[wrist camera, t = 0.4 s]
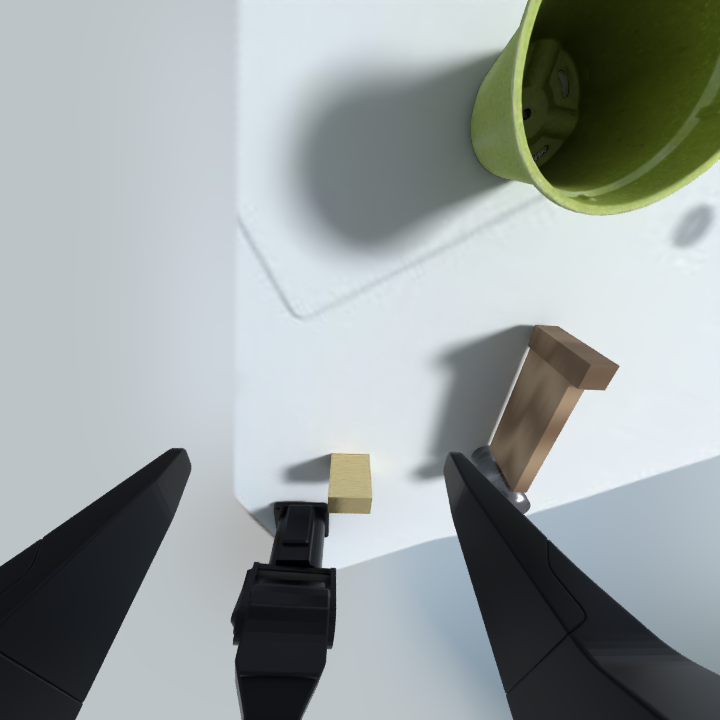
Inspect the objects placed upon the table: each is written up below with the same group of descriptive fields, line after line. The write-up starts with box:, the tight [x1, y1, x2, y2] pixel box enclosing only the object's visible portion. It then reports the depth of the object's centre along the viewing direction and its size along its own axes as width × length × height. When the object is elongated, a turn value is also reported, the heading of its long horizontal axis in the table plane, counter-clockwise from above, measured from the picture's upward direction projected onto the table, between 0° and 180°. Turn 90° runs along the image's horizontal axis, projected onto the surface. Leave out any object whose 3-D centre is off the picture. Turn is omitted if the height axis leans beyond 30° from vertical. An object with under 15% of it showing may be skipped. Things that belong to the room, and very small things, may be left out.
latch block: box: [328, 454, 372, 514], centre depth 29 cm, size 2×4×5 cm, turn 86°
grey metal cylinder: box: [472, 446, 530, 514], centre depth 28 cm, size 3×3×6 cm
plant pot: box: [470, 0, 720, 215], centre depth 13 cm, size 9×9×9 cm
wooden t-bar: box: [489, 325, 619, 493], centre depth 23 cm, size 14×2×6 cm, turn 176°
